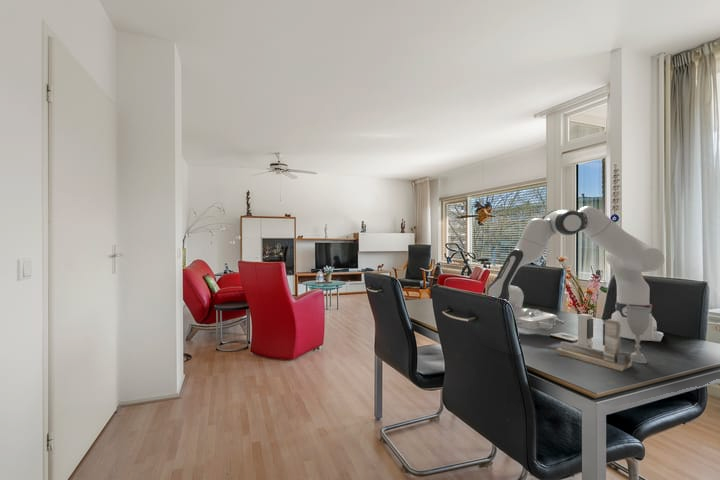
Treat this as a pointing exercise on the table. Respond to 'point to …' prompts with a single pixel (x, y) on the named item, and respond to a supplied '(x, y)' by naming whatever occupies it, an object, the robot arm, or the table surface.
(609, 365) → the wooden stand
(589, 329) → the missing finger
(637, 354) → the chalice
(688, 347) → the table surface
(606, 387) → the table surface
